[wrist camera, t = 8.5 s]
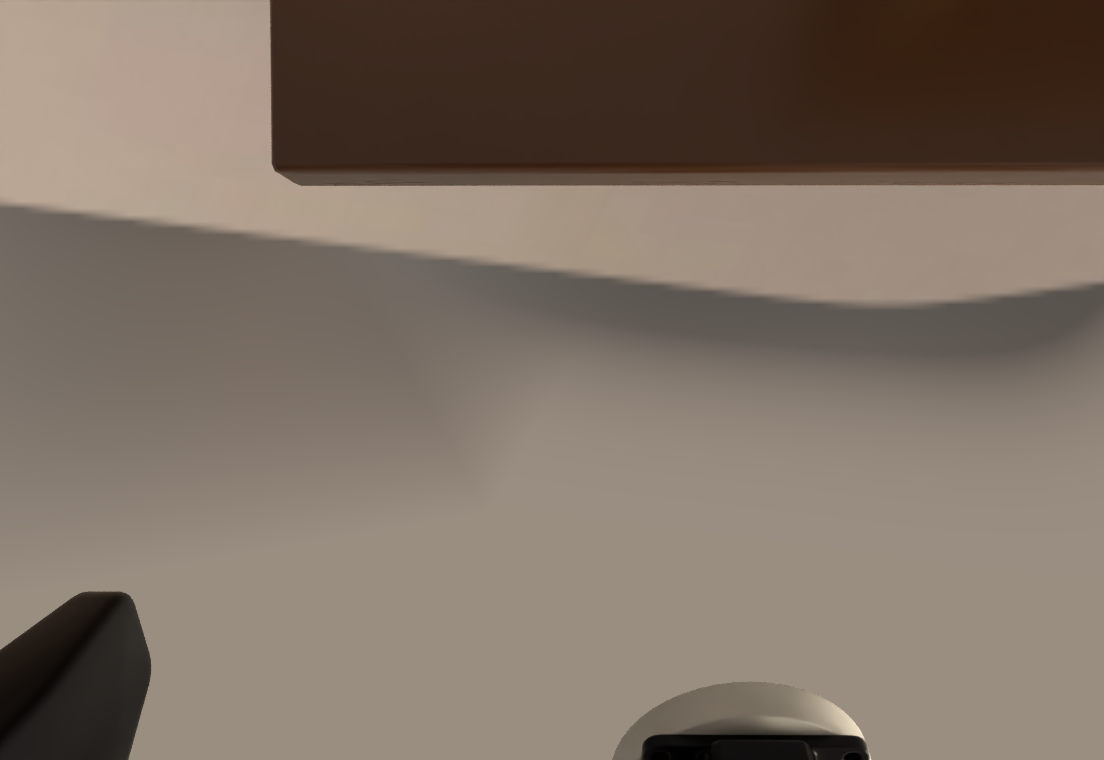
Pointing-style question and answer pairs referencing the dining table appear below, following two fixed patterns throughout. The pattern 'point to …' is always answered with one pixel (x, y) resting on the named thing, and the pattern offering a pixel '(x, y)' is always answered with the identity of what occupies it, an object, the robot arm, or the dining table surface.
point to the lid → (687, 92)
